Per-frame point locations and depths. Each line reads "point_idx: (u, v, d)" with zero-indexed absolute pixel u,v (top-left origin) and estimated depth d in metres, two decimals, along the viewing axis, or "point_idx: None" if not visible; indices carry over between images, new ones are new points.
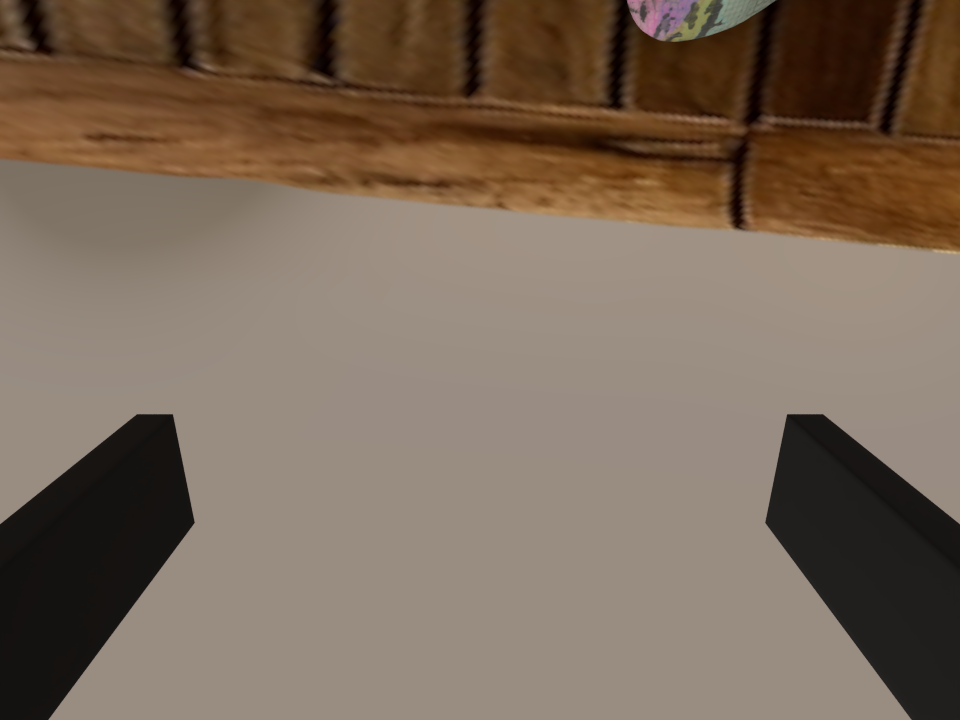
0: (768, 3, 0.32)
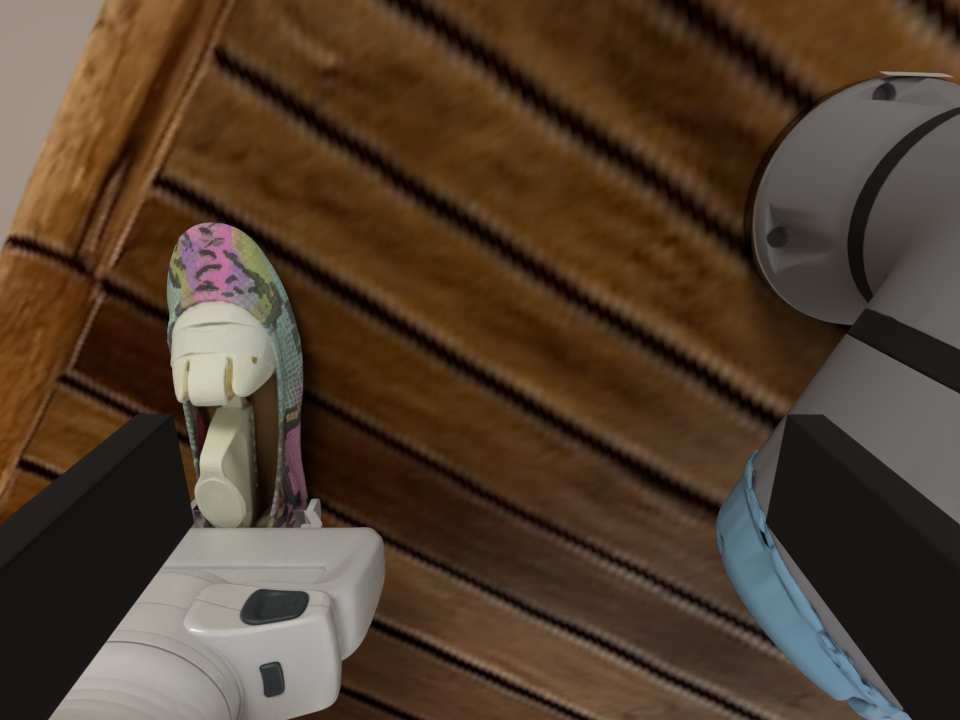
0: None
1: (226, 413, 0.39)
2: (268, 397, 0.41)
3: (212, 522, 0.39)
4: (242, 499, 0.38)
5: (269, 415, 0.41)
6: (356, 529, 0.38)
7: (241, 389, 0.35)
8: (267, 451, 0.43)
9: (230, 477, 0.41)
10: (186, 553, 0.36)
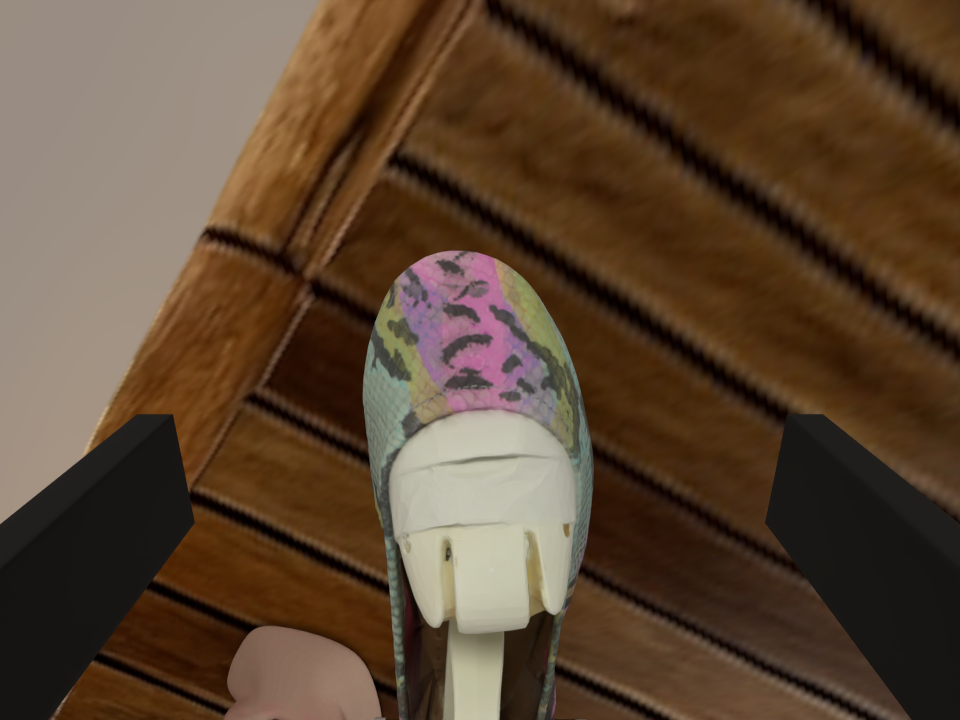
0: (367, 433, 0.21)
1: None
2: None
3: None
4: None
5: None
6: None
7: (557, 600, 0.17)
8: (506, 641, 0.25)
9: None
10: None
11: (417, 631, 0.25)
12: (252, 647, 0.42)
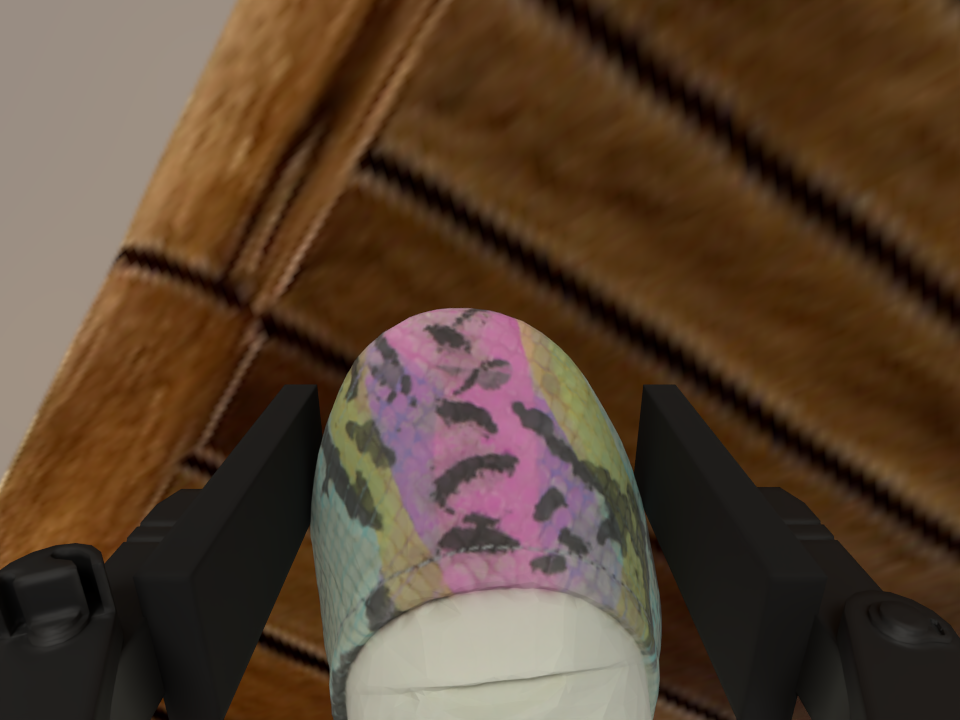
0: (318, 583, 0.14)
1: None
2: None
3: None
4: None
5: None
6: None
7: None
8: None
9: None
10: None
11: None
12: None
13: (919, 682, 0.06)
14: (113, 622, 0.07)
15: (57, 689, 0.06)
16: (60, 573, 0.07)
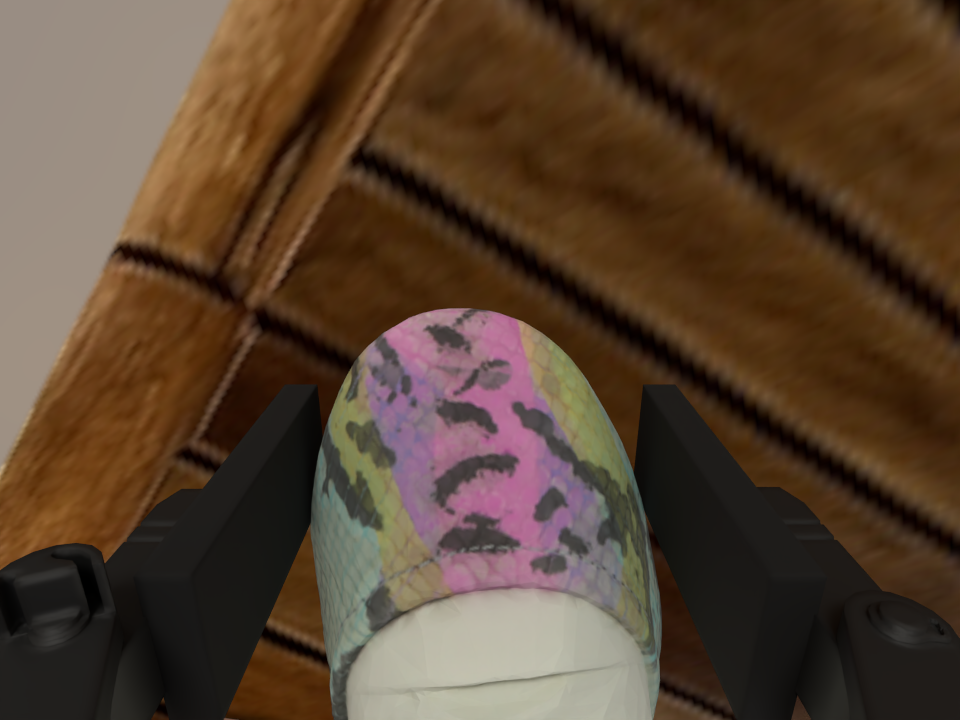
0: (318, 583, 0.14)
1: None
2: None
3: None
4: None
5: None
6: None
7: None
8: None
9: None
10: None
11: None
12: None
13: (919, 682, 0.06)
14: (114, 622, 0.07)
15: (58, 689, 0.06)
16: (61, 573, 0.07)
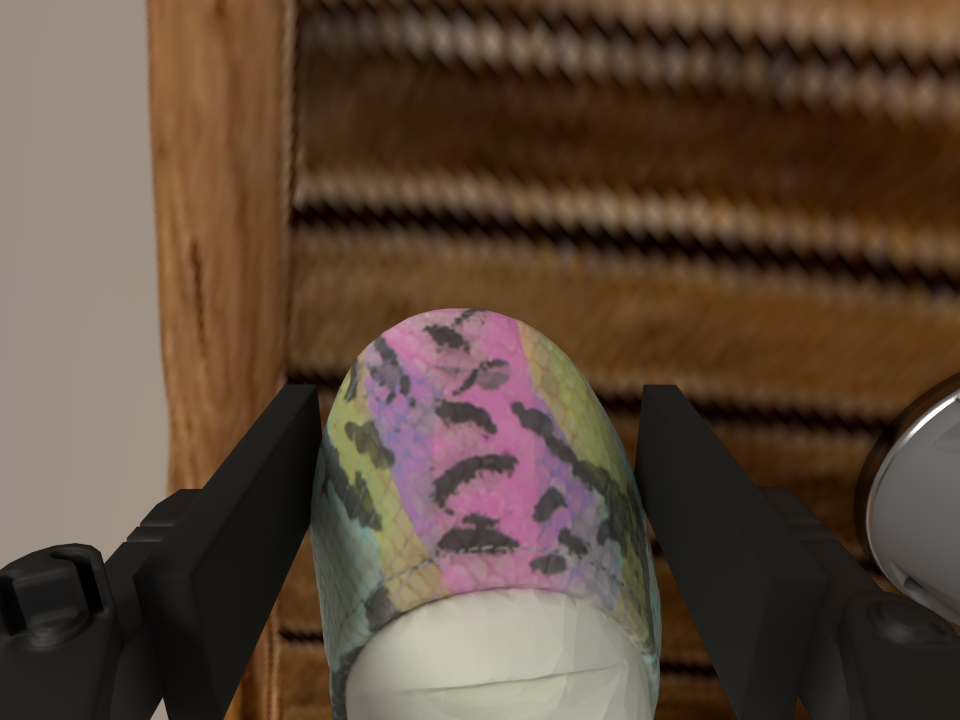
0: (317, 584, 0.14)
1: None
2: None
3: None
4: None
5: None
6: None
7: None
8: None
9: None
10: None
11: None
12: None
13: (919, 683, 0.06)
14: (113, 622, 0.07)
15: (57, 689, 0.06)
16: (60, 573, 0.07)
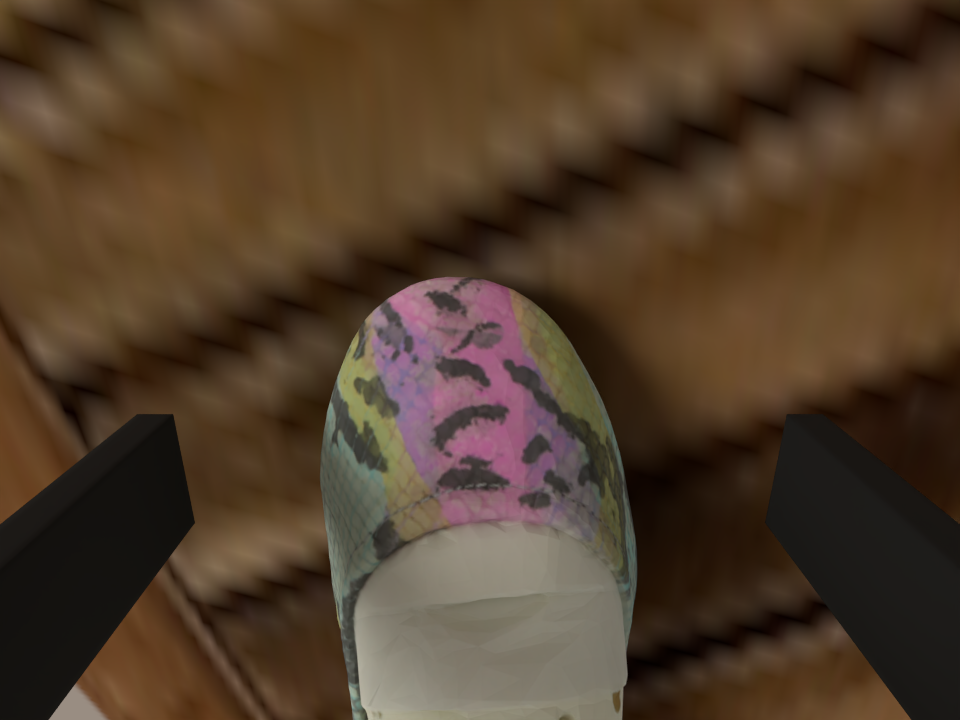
0: (326, 528, 0.15)
1: None
2: None
3: None
4: None
5: None
6: None
7: None
8: None
9: None
10: None
11: None
12: None
13: None
14: None
15: None
16: None
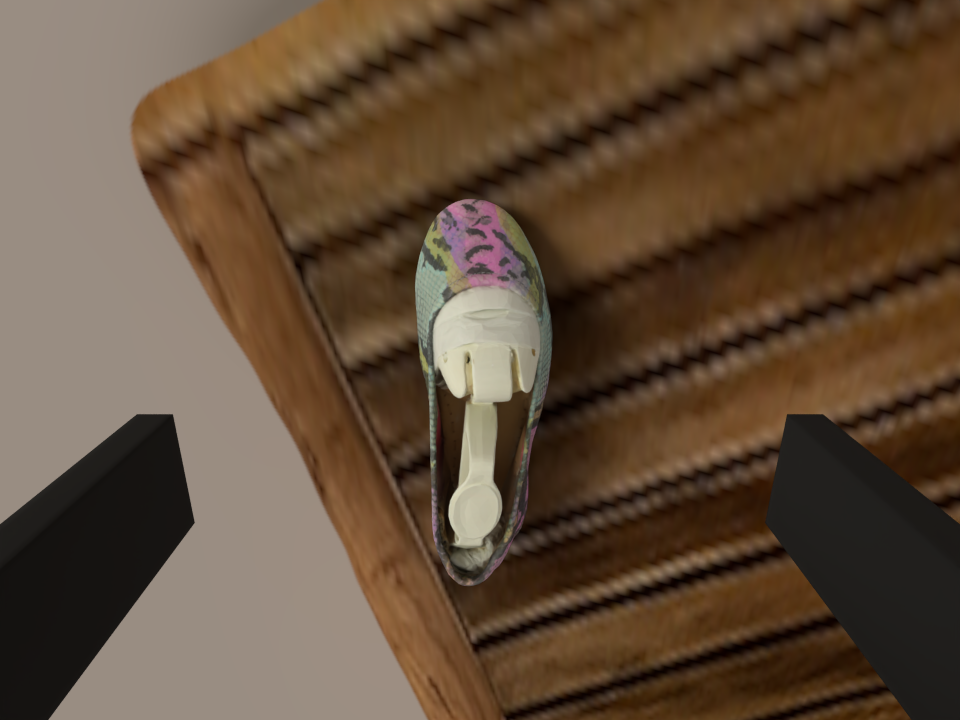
0: (417, 309, 0.35)
1: (480, 411, 0.35)
2: None
3: (457, 531, 0.35)
4: (501, 506, 0.34)
5: (507, 413, 0.38)
6: None
7: (527, 384, 0.31)
8: (497, 452, 0.39)
9: None
10: None
11: (441, 445, 0.39)
12: None
13: None
14: None
15: None
16: None
